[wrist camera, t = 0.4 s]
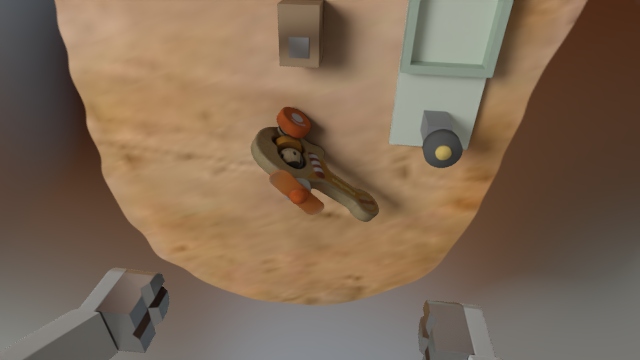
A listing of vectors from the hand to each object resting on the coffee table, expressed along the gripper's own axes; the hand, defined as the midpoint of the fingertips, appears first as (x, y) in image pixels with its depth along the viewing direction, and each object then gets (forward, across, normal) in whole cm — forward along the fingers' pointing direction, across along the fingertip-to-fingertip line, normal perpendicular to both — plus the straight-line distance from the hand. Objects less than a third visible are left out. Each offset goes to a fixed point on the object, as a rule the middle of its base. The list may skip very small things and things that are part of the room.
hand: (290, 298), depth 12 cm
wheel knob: (+38, -12, +12) cm, 41 cm away
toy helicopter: (+43, +4, +19) cm, 47 cm away
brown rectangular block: (+43, +6, +1) cm, 43 cm away
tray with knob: (+43, -12, +3) cm, 45 cm away
